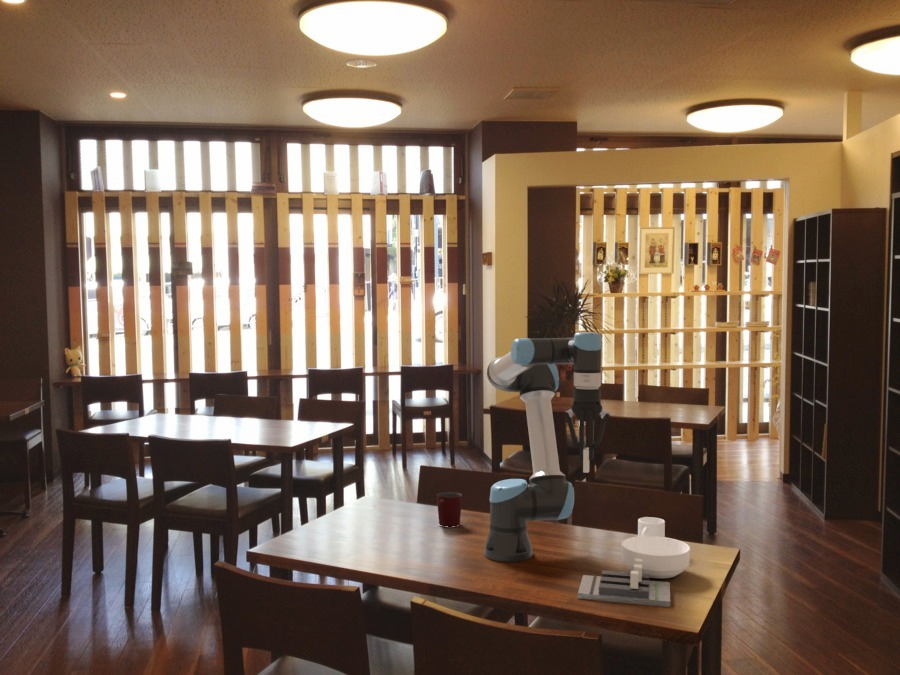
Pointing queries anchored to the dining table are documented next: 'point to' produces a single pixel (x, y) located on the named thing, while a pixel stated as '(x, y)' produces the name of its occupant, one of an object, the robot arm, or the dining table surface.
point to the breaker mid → (639, 569)
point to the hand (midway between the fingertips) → (586, 471)
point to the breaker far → (638, 561)
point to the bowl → (656, 555)
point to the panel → (626, 599)
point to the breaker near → (634, 579)
